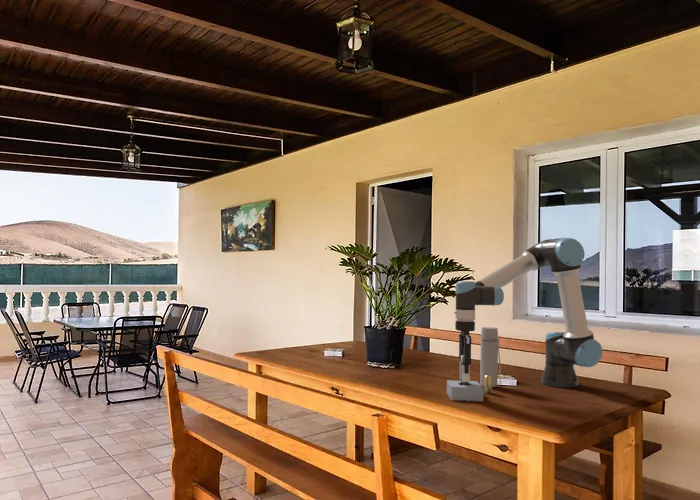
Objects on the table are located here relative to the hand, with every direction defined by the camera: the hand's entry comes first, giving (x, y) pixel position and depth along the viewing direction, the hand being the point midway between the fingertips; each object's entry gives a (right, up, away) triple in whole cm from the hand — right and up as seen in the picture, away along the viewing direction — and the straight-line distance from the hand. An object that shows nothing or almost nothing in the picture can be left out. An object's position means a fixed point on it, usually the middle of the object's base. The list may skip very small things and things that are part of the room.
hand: (464, 379), depth 203 cm
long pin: (0, -7, 0) cm, 7 cm away
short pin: (+11, -7, +7) cm, 15 cm away
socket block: (0, -7, 0) cm, 7 cm away
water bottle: (+16, -8, +20) cm, 27 cm away
